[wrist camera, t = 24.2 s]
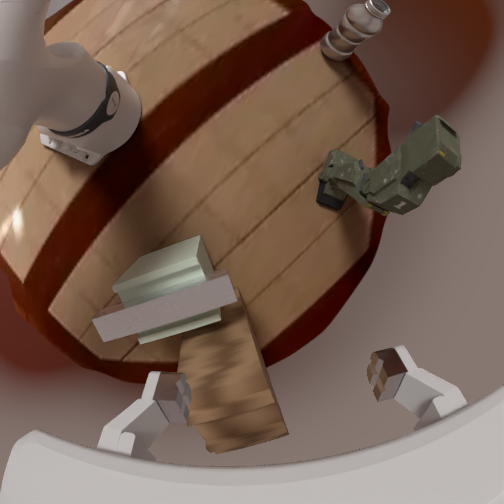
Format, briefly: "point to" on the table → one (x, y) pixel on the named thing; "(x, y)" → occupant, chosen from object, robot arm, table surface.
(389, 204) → the mechanical leg
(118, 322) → the link bar
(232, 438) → the wood grain block
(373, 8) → the plastic bottle
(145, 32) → the table surface
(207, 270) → the shelf block
